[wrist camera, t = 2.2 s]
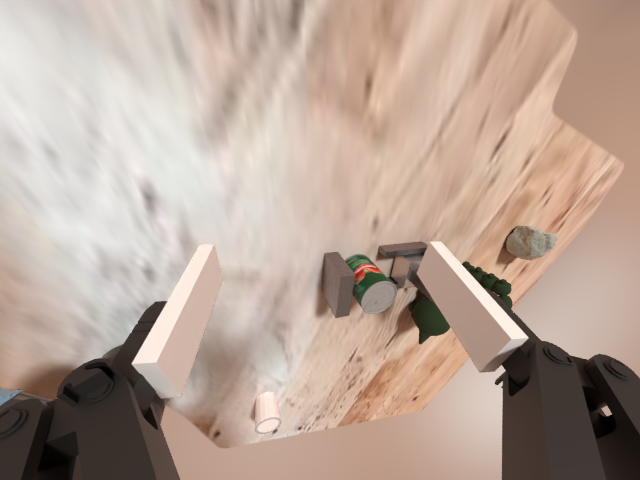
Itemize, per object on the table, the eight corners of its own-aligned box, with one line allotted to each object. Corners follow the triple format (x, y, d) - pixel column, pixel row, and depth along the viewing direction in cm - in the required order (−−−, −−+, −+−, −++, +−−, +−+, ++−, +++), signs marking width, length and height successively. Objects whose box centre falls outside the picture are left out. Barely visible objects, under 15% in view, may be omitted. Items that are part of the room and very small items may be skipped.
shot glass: (269, 387, 63) (272, 414, 57) (282, 396, 66) (286, 422, 60) (248, 400, 62) (249, 429, 56) (262, 408, 66) (264, 437, 60)
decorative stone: (497, 235, 64) (523, 266, 60) (541, 213, 59) (572, 245, 56) (494, 239, 75) (515, 266, 71) (531, 221, 70) (556, 248, 66)
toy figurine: (440, 247, 62) (389, 319, 65) (517, 283, 45) (443, 377, 49) (457, 259, 66) (408, 326, 70) (532, 296, 50) (463, 381, 53)
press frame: (411, 278, 61) (436, 299, 53) (321, 291, 53) (335, 319, 46) (421, 241, 56) (450, 259, 48) (325, 251, 48) (340, 274, 41)
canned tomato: (360, 247, 51) (387, 274, 42) (375, 267, 55) (403, 296, 46) (333, 269, 51) (354, 301, 42) (350, 287, 56) (372, 320, 46)
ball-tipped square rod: (407, 273, 59) (472, 331, 43) (390, 276, 58) (451, 336, 41) (413, 249, 56) (486, 301, 39) (396, 251, 55) (465, 306, 38)
